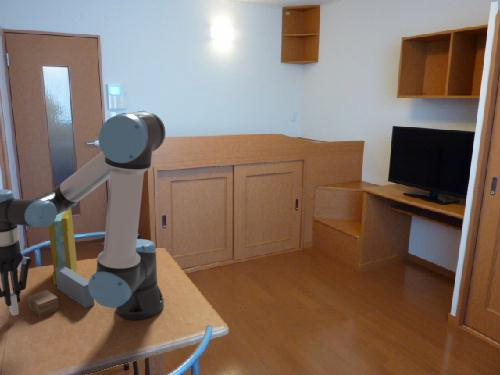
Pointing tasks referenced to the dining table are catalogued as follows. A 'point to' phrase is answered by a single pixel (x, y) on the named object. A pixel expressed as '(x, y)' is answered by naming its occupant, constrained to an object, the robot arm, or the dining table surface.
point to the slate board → (74, 286)
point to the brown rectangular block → (43, 303)
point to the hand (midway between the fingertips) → (14, 313)
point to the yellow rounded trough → (63, 242)
